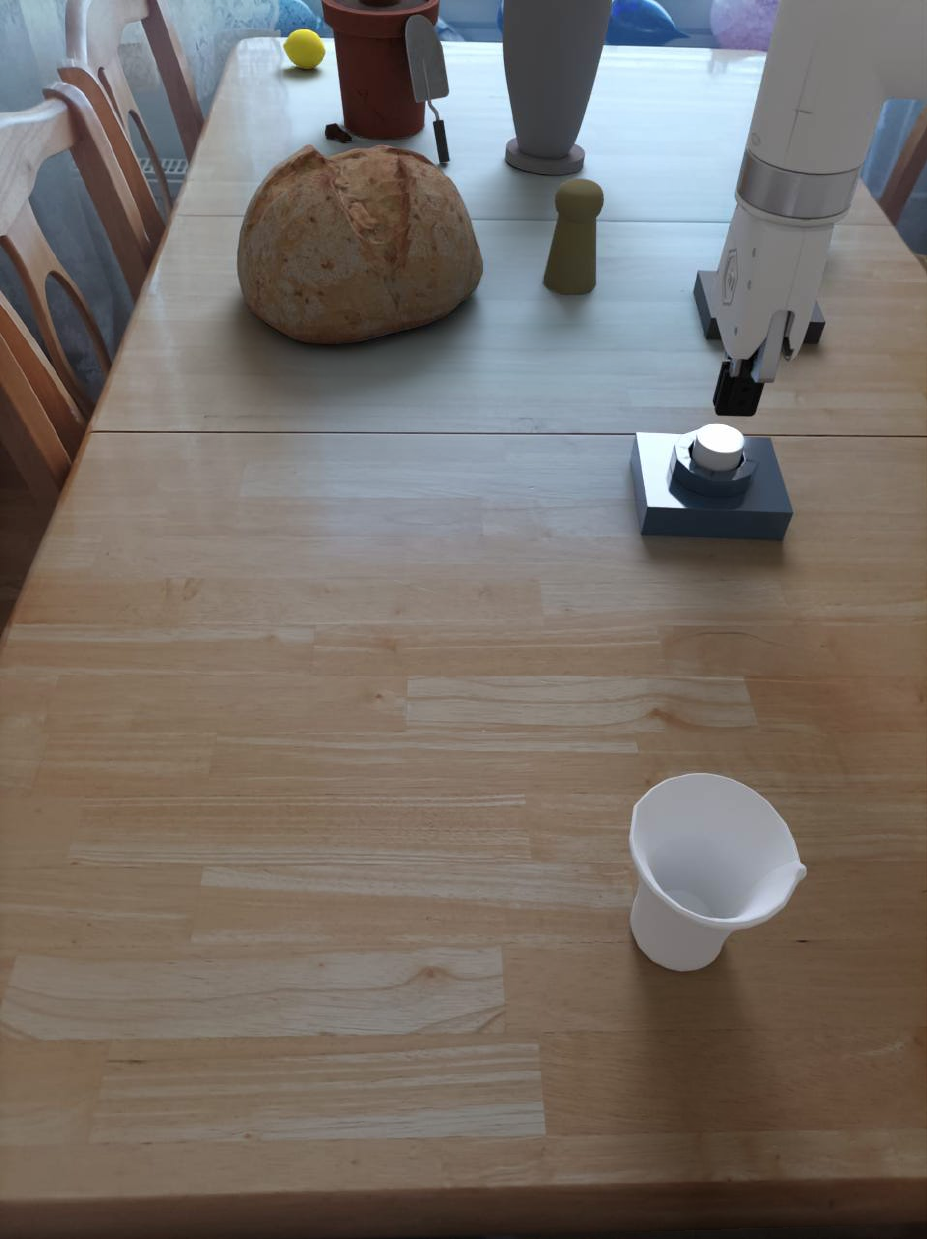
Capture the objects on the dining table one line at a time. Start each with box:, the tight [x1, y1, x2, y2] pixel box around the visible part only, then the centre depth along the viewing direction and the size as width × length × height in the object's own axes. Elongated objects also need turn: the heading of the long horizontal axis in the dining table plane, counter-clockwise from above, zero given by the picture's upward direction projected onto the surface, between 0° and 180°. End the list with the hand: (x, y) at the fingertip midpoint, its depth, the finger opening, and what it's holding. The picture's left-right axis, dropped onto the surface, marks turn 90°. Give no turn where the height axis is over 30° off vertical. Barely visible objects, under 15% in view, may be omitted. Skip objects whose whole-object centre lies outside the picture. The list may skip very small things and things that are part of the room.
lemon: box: [282, 28, 326, 70], centre depth 147 cm, size 7×5×5 cm
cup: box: [628, 772, 808, 972], centre depth 52 cm, size 9×9×10 cm
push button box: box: [629, 428, 794, 542], centre depth 80 cm, size 12×10×5 cm
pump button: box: [692, 423, 745, 472], centre depth 78 cm, size 4×4×2 cm
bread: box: [236, 143, 484, 345], centre depth 98 cm, size 26×23×15 cm
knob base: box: [693, 269, 827, 344], centre depth 102 cm, size 12×10×3 cm
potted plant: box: [320, 0, 451, 164], centre depth 124 cm, size 18×22×25 cm
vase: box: [502, 0, 613, 176], centre depth 115 cm, size 13×13×35 cm
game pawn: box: [542, 177, 605, 296], centre depth 103 cm, size 6×6×11 cm
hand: (733, 409), depth 75 cm, fingers closed
